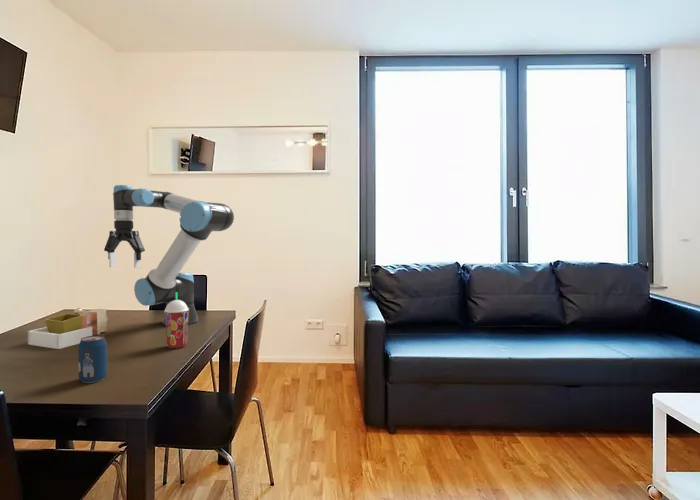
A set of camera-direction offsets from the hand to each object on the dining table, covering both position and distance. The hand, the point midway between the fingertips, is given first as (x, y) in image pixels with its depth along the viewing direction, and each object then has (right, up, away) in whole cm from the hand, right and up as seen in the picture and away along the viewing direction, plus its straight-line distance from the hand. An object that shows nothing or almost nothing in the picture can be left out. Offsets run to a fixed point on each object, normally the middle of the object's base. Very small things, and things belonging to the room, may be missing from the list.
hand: (124, 267), depth 186 cm
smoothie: (+38, -28, -34) cm, 58 cm away
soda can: (+28, -29, -68) cm, 79 cm away
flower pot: (-7, -27, -28) cm, 40 cm away
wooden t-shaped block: (-3, -26, -19) cm, 32 cm away
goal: (-7, -27, -30) cm, 41 cm away
